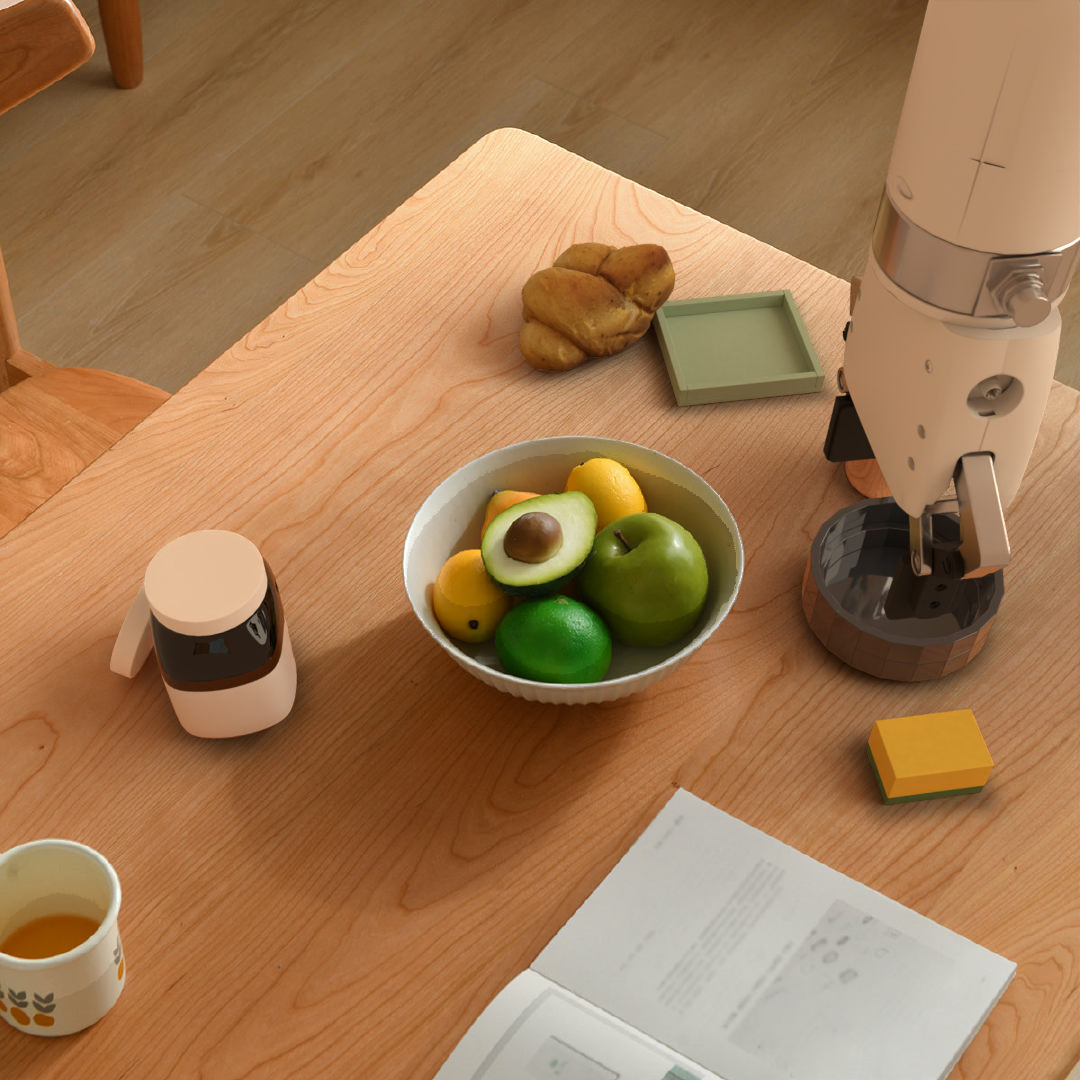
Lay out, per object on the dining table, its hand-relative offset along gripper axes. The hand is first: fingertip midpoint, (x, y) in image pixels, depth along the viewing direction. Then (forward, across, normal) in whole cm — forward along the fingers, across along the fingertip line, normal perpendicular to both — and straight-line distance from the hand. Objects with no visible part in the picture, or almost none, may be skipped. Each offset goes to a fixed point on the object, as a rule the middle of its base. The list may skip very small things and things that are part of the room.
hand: (884, 529), depth 64 cm
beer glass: (+24, +24, -13) cm, 36 cm away
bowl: (+24, +12, -9) cm, 28 cm away
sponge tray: (+24, +38, -5) cm, 45 cm away
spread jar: (+24, +13, +36) cm, 45 cm away
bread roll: (+24, +42, +7) cm, 49 cm away
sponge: (+24, 0, -7) cm, 25 cm away
